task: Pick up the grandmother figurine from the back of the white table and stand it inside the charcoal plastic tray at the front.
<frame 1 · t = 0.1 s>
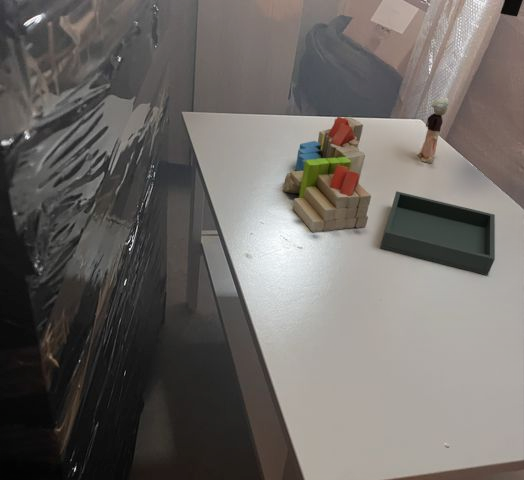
hand: (507, 7, 101), 30 cm above the table, tool pointing down, fingers open, 13 cm apart
tray: (436, 238, 100), on the table
pile of blocks: (321, 186, 110), on the table
grandmother figurine: (424, 158, 126), on the table
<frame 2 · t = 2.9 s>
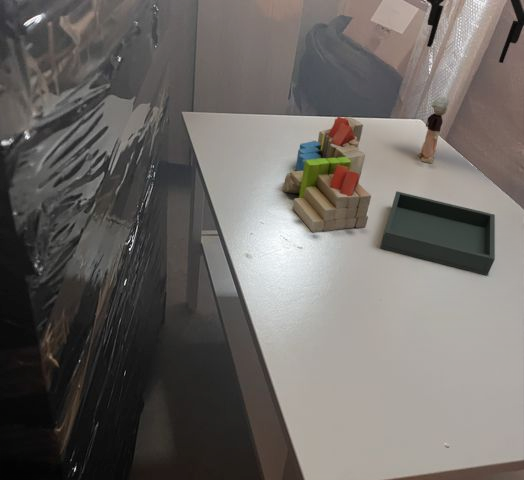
hand: (464, 53, 110), 21 cm above the table, tool pointing down, fingers open, 13 cm apart
nothing on the table moved.
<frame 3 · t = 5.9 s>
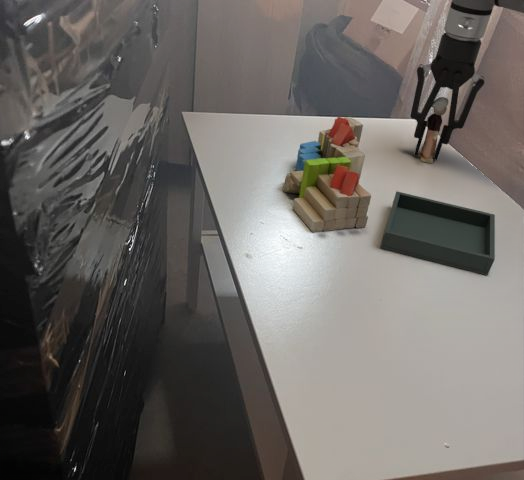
hand: (426, 155, 125), 1 cm above the table, tool pointing down, fingers closed on grandmother figurine, 3 cm apart
grandmother figurine: (424, 158, 126), on the table, touching gripper
everything else where it was.
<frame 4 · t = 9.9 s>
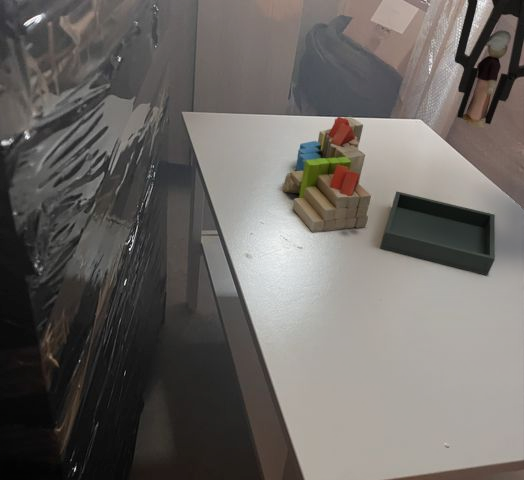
hand: (474, 117, 89), 20 cm above the table, tool pointing down, fingers closed on grandmother figurine, 3 cm apart
grandmother figurine: (471, 122, 90), point 19 cm above the table, touching gripper
everything else where it was.
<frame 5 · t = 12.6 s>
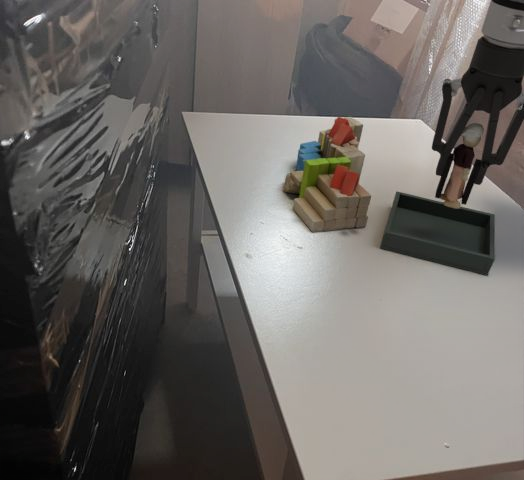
hand: (450, 197, 95), 8 cm above the table, tool pointing down, fingers closed on grandmother figurine, 3 cm apart
grandmother figurine: (448, 201, 95), point 7 cm above the table, touching gripper
everything else where it was.
when the fingers open (1 cm above the table, at t = 14.4 s): grandmother figurine stays where it is, resting on tray.
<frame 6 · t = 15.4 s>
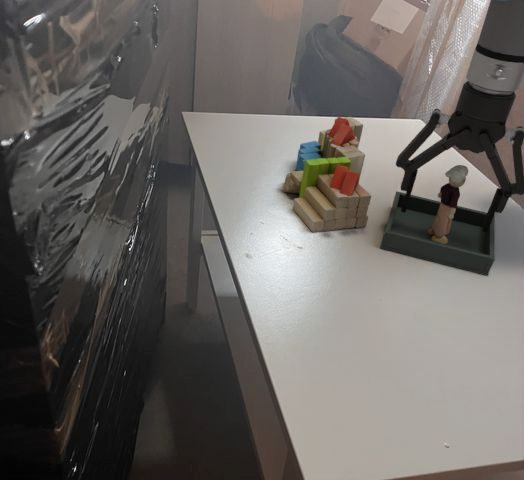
hand: (444, 218, 97), 4 cm above the table, tool pointing down, fingers open, 13 cm apart
grandmother figurine: (436, 236, 100), resting on tray
everything else where it was.
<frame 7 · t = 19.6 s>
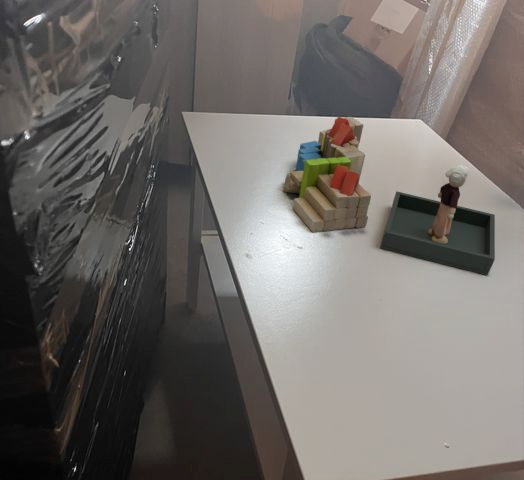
nothing on the table moved.
at the end: grandmother figurine inside the target area in the tray (0.1 cm from its centre), point 0.4 cm above the tray's base; grandmother figurine tilted 0°; the gripper is holding nothing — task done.
